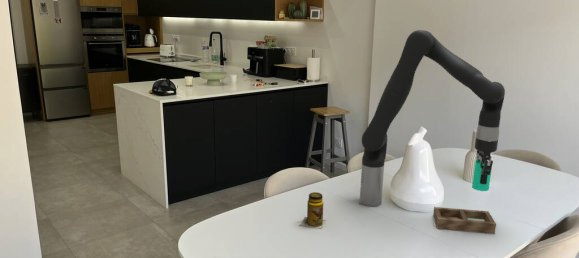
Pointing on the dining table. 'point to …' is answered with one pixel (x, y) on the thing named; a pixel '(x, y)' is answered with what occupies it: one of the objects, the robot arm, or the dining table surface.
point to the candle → (477, 176)
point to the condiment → (314, 211)
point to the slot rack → (464, 220)
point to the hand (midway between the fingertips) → (481, 180)
